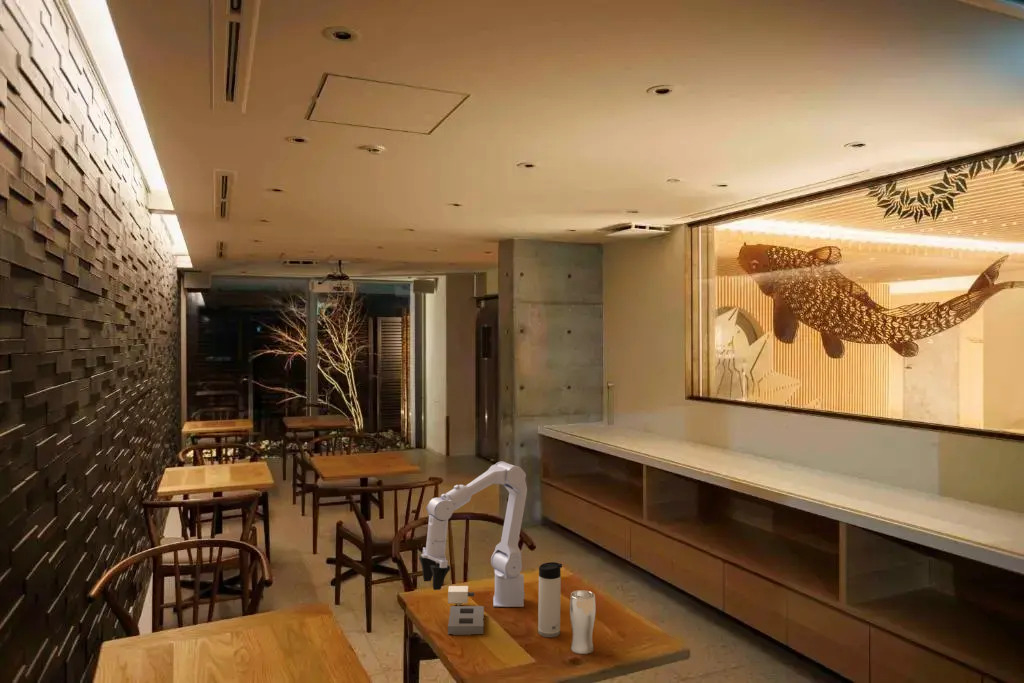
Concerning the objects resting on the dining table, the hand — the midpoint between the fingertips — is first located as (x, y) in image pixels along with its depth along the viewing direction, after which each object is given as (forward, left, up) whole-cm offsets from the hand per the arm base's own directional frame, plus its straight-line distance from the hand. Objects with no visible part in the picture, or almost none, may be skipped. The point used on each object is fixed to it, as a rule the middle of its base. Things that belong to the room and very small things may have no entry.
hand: (432, 585), depth 209 cm
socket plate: (-10, +3, -11) cm, 15 cm away
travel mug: (-34, +9, -11) cm, 37 cm away
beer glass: (-42, +19, -11) cm, 48 cm away
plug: (-8, -10, -11) cm, 17 cm away
